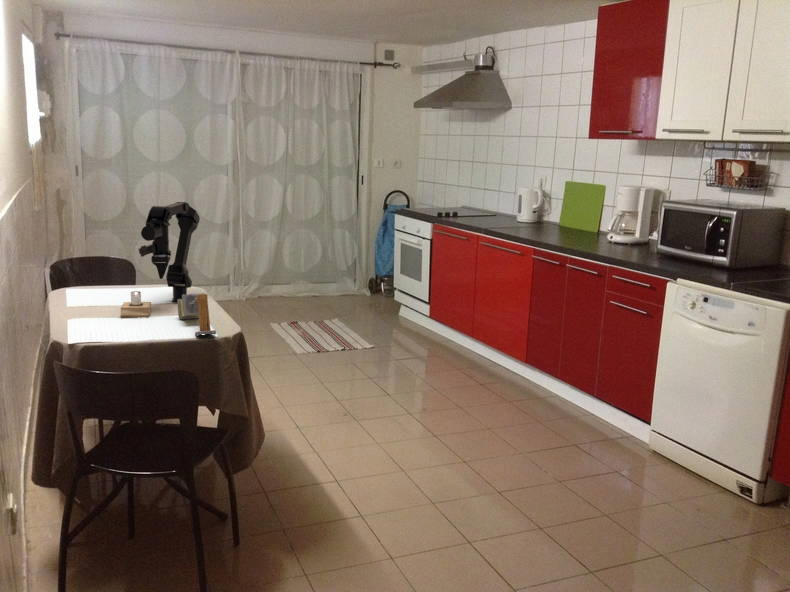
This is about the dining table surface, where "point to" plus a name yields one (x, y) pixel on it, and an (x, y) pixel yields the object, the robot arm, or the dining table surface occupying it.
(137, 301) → the pin
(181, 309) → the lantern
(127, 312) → the bore block
